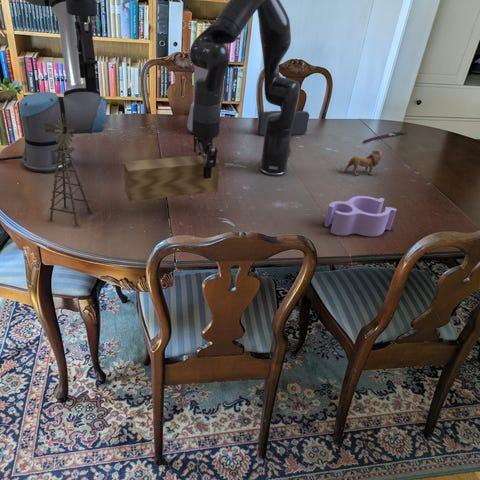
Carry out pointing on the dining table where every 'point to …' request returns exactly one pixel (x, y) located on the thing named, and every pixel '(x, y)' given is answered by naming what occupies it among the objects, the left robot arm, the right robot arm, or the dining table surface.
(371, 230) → the clip
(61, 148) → the miniature windmill
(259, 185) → the dining table surface
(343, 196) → the dining table surface
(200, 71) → the electronic device
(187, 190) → the bar
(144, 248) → the dining table surface
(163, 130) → the dining table surface
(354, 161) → the lion figurine
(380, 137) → the sword
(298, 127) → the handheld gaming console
